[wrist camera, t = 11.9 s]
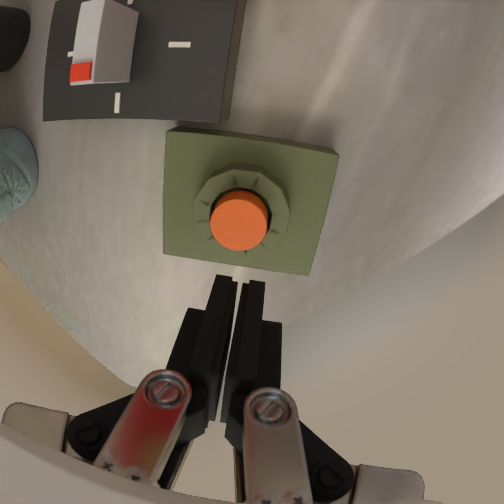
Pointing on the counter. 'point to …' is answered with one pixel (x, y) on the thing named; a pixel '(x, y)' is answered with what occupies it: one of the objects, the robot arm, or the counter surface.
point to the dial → (103, 43)
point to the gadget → (152, 64)
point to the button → (239, 220)
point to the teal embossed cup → (16, 170)
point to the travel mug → (12, 35)
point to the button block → (252, 180)
